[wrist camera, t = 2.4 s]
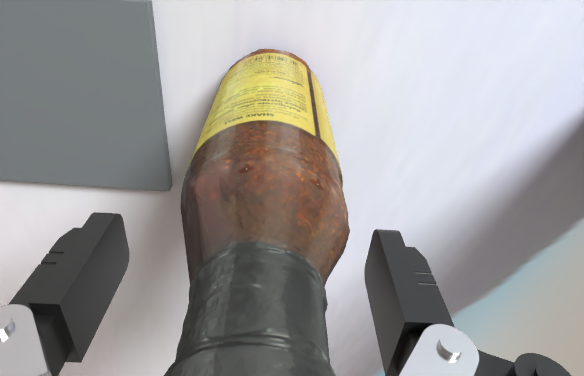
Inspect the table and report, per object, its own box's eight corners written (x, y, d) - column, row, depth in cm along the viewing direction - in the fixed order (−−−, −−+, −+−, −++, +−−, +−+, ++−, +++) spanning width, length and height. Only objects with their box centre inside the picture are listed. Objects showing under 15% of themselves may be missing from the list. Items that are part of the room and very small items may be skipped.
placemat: (151, 0, 21) (146, 2, 20) (172, 185, 28) (169, 191, 27) (-112, -22, 21) (-126, -20, 20) (-29, 171, 27) (-37, 177, 27)
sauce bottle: (202, 96, 24) (-13, 453, 7) (270, 19, 22) (182, 294, 5) (278, 161, 27) (245, 540, 10) (347, 100, 24) (460, 464, 7)
